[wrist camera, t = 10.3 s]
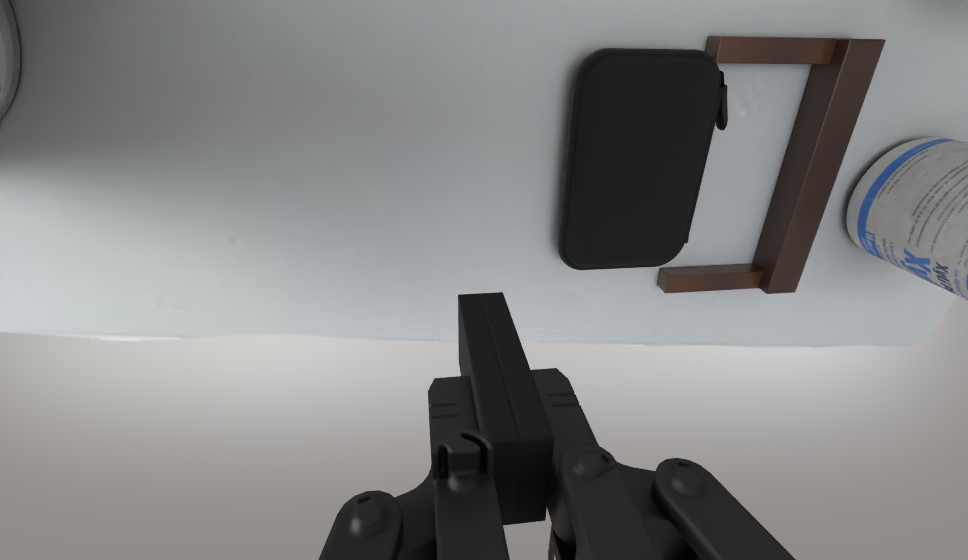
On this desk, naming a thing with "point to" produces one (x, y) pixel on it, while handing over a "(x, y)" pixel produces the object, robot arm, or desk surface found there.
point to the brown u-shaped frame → (793, 157)
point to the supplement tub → (917, 211)
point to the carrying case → (636, 155)
